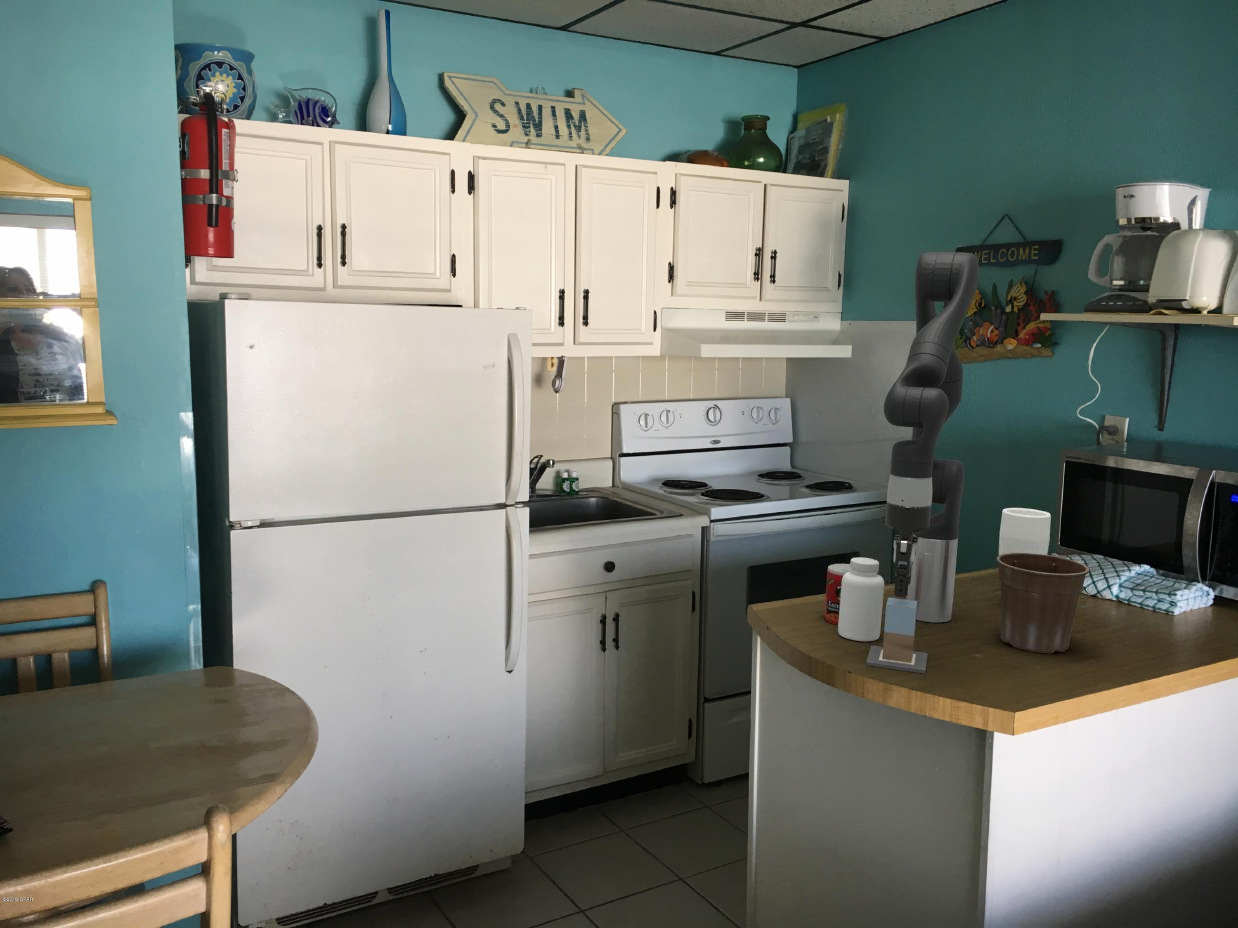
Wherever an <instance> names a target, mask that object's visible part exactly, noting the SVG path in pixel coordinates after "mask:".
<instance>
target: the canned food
mask: <svg viewBox="0 0 1238 928" xmlns="http://www.w3.org/2000/svg"><path fill="white" fill-rule="evenodd" d="M850 571H851V570H850V563H834V564H830V565H828V566H827V573H826V589H825V604H824V606H825V607H824V617H825V620H826V622H827V623H830V624H832V625H836V626H838V623H839V611H840V598H841V586H842V578H843V576H844V574H846V573H847V572H850Z"/></svg>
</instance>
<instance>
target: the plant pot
mask: <svg viewBox="0 0 1238 928" xmlns="http://www.w3.org/2000/svg"><path fill="white" fill-rule="evenodd" d="M996 562H997V563H998V580H999V582H1000V639H1001V641H1002V642H1003V643H1005V644H1009V645H1011V647H1012V648H1014V649H1019V650H1023V651H1026V652H1029V653H1030V652H1031V653H1037V654H1054V652H1058V653H1065V652H1066V651H1068V648H1069V647H1070V640H1071V636H1072V635H1071V634H1072V631H1073V625H1074V621H1075V616H1076V611H1077V607H1078V602H1079V599H1080V597H1079V596H1080V594H1081V592H1082V590H1083V588H1084V583H1085V579H1086V575H1087V574H1089V572H1090V568H1089V566H1087V565H1086V564H1084V563H1082V562H1078V561H1076V560H1072V559H1070V558H1065V557H1061V556H1057V555H1051V554H1050V555H1049V554H1047V555H1043V554H1033V553H1006V554H1002V555H999V554H998V556H997V557H996Z"/></svg>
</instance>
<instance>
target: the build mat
mask: <svg viewBox="0 0 1238 928" xmlns="http://www.w3.org/2000/svg"><path fill="white" fill-rule="evenodd" d="M882 656H883V646H880V645H879V646H877V645H870V650H869V652H868V655H867V658H866V661H865V666H867V667H868V666H869V667H875V668H882V669H888V670H889V669H890V670H896V671H903V672H911V673H916V674H924V675H925V674H926V669H927V663H928V656H929V655H928V652H922V651H914V650H913V657H912V663H907V662H900V661H893V660H886V659H882Z"/></svg>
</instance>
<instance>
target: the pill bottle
mask: <svg viewBox="0 0 1238 928" xmlns="http://www.w3.org/2000/svg"><path fill="white" fill-rule="evenodd" d="M849 564H850V570H851V571H850V572H847V573H846V574H844V576H843V578H842V586H841V598H840V611H839V623H838V625H837V626H838V627H837V633H838V635H839V636H841V637H843V638H845V639H848V640H851V641H857V642H872V641H876V640H878V639H879V638H880V635H881V628H882V627H881V624H882V615H883V603H884V592H885V581H884V578H883V576H881V575H880V574H878V573H879V567H880V562H879V561H878V560H877V559H875V558H874V559H873V558H871V557H870V558H868V557H852V558H851V559H850V563H849Z"/></svg>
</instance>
